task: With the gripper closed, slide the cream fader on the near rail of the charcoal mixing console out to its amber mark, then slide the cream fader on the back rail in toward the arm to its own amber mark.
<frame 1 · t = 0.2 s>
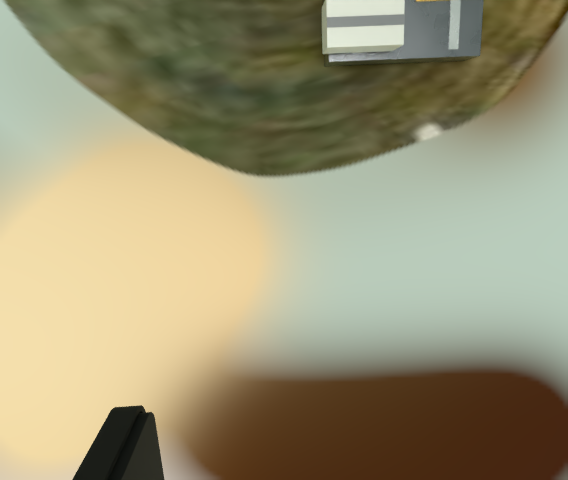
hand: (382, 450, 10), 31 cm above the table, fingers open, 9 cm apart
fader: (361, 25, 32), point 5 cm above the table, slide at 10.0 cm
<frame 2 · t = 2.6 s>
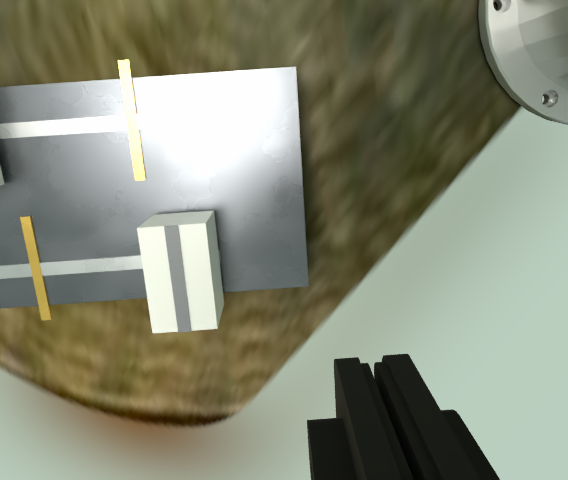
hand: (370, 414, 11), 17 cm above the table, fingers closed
console: (139, 187, 26), on the table
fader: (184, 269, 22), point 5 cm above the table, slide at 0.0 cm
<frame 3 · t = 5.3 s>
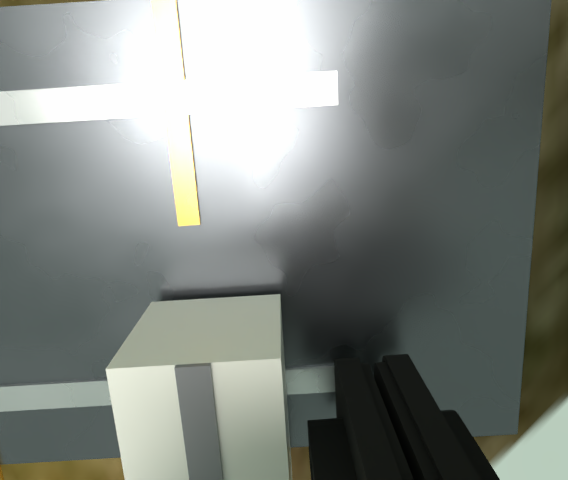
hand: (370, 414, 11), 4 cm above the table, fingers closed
console: (177, 226, 14), on the table
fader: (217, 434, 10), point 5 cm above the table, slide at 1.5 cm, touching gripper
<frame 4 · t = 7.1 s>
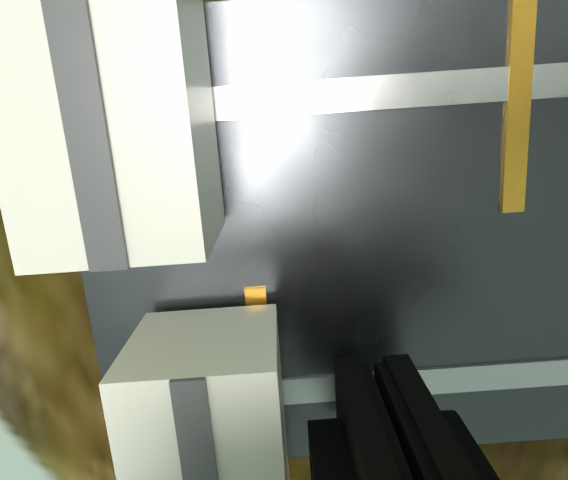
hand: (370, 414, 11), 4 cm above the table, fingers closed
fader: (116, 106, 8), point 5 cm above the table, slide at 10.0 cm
console: (426, 217, 14), on the table
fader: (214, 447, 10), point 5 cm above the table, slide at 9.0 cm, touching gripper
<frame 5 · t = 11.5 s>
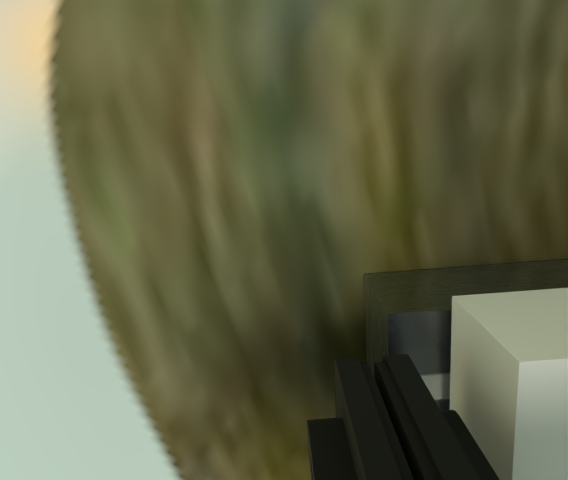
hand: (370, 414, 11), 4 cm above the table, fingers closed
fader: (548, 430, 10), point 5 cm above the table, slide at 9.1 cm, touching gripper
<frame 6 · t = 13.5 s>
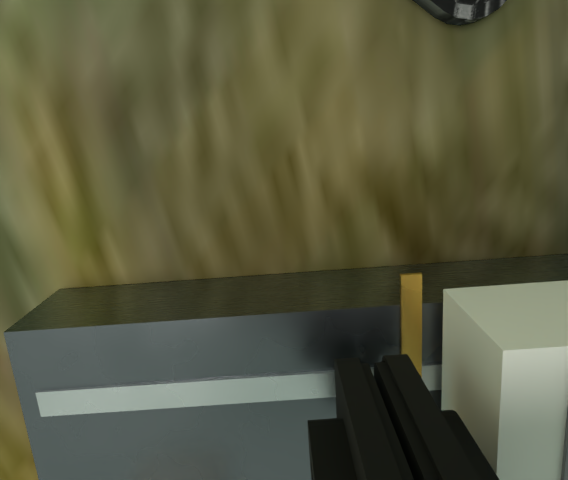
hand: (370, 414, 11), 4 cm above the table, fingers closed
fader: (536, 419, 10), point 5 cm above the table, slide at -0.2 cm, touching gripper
console: (356, 424, 16), on the table
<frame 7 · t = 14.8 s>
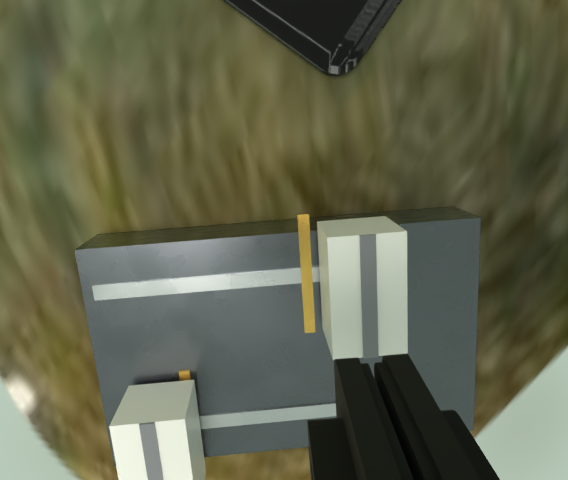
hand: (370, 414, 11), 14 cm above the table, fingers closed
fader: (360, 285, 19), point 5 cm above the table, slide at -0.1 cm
console: (285, 321, 25), on the table
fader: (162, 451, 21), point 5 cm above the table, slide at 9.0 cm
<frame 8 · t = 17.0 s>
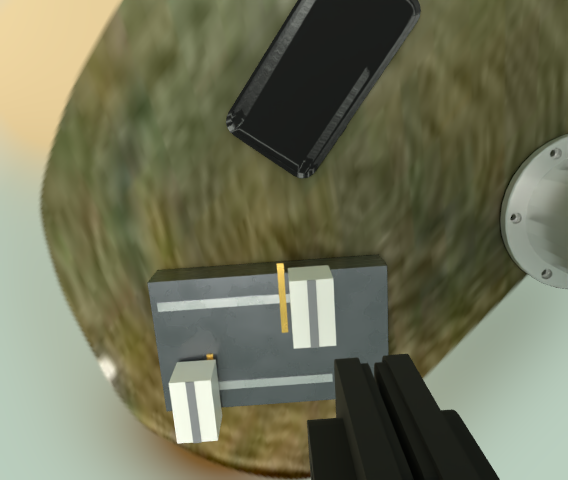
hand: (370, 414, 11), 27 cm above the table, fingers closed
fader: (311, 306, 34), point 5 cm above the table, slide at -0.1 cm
phone: (320, 70, 35), on the table
console: (272, 324, 39), on the table
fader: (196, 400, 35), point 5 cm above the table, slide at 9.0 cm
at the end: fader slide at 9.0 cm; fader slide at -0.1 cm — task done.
